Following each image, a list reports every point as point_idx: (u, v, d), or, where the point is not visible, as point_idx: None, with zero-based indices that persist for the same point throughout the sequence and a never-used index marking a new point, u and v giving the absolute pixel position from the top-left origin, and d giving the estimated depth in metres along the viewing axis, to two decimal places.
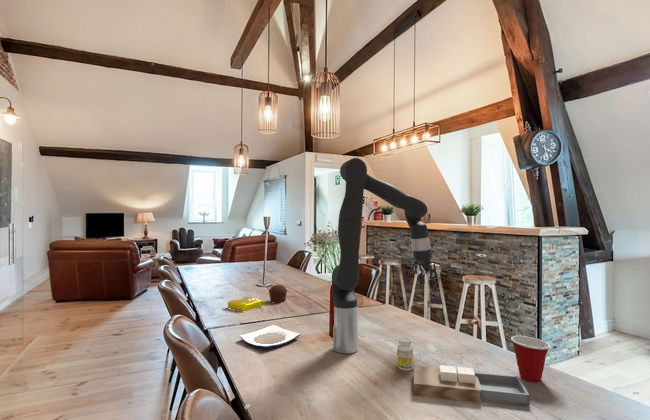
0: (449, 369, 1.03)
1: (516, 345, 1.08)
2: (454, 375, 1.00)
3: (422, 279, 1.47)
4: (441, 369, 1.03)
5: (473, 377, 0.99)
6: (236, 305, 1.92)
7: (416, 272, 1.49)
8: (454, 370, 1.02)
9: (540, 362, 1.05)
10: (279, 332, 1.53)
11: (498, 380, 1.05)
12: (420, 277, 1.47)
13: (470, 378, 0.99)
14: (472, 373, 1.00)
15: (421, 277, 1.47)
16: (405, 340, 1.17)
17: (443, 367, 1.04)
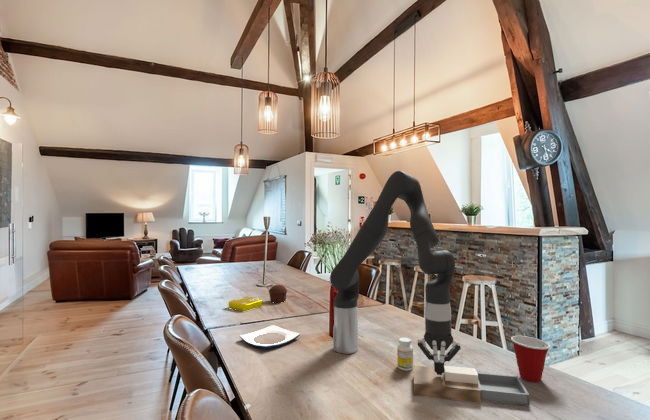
0: (454, 369, 1.02)
1: (516, 345, 1.08)
2: (459, 376, 1.00)
3: None
4: (446, 369, 1.03)
5: (476, 377, 0.99)
6: (237, 305, 1.93)
7: None
8: (459, 370, 1.02)
9: (540, 362, 1.05)
10: (279, 332, 1.53)
11: (498, 380, 1.05)
12: None
13: (473, 379, 0.99)
14: (475, 373, 1.00)
15: None
16: (405, 340, 1.17)
17: (448, 368, 1.04)
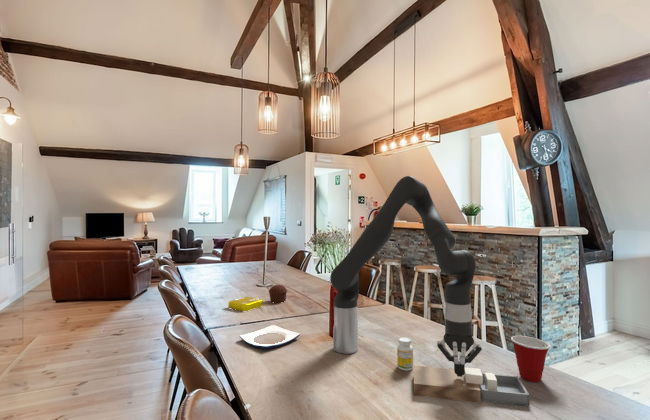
0: (474, 371, 1.01)
1: (516, 345, 1.08)
2: (480, 378, 0.99)
3: None
4: (466, 371, 1.01)
5: None
6: (237, 305, 1.93)
7: None
8: (480, 372, 1.00)
9: (540, 362, 1.05)
10: (279, 332, 1.53)
11: (498, 380, 1.05)
12: None
13: None
14: None
15: None
16: (405, 340, 1.17)
17: (468, 370, 1.02)
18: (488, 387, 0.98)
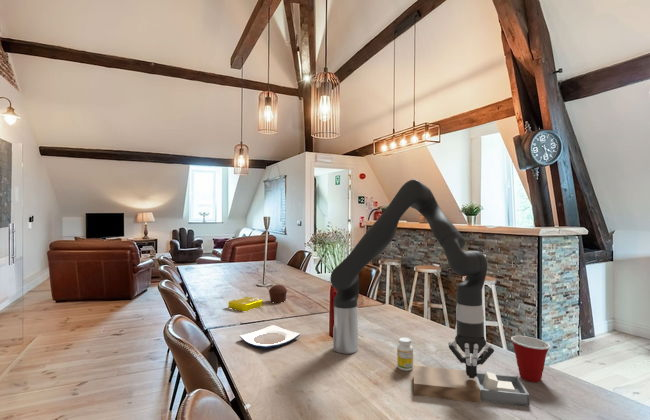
0: None
1: (516, 345, 1.08)
2: None
3: None
4: None
5: None
6: (237, 305, 1.93)
7: None
8: None
9: (540, 362, 1.05)
10: (279, 332, 1.53)
11: None
12: None
13: None
14: None
15: None
16: (405, 340, 1.17)
17: None
18: (505, 389, 0.97)
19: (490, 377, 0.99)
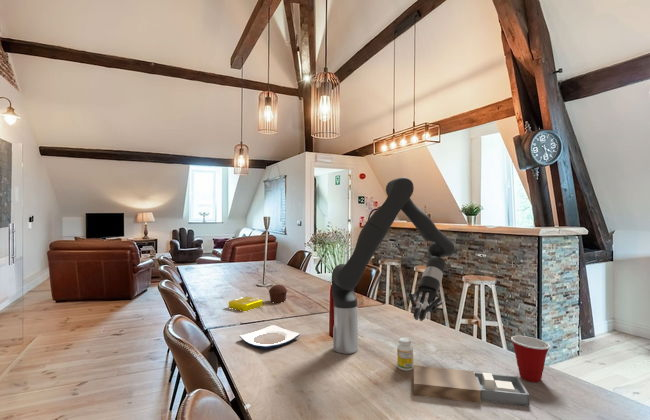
0: None
1: (516, 345, 1.08)
2: None
3: (418, 314, 1.28)
4: None
5: None
6: (237, 305, 1.93)
7: (414, 304, 1.30)
8: None
9: (540, 362, 1.05)
10: (279, 332, 1.53)
11: None
12: (418, 311, 1.28)
13: None
14: None
15: (419, 311, 1.28)
16: (405, 340, 1.17)
17: None
18: (505, 389, 0.97)
19: (486, 378, 0.99)
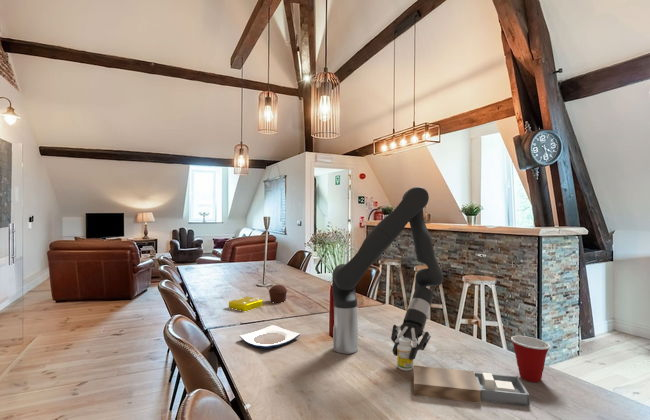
0: None
1: (516, 345, 1.08)
2: None
3: None
4: None
5: None
6: (237, 305, 1.93)
7: (394, 338, 1.22)
8: None
9: (540, 362, 1.05)
10: (279, 332, 1.53)
11: None
12: None
13: None
14: None
15: None
16: (405, 340, 1.17)
17: None
18: (505, 389, 0.97)
19: (486, 378, 0.99)
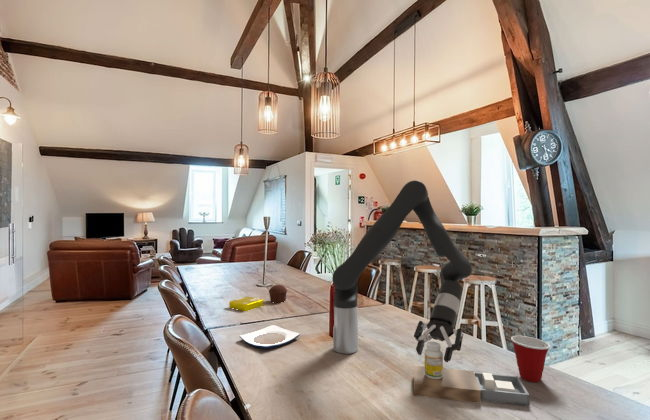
0: None
1: (516, 345, 1.08)
2: None
3: (422, 348, 1.07)
4: None
5: None
6: (238, 305, 1.93)
7: (417, 336, 1.09)
8: None
9: (540, 362, 1.05)
10: (279, 332, 1.53)
11: None
12: (422, 343, 1.07)
13: None
14: None
15: (422, 344, 1.07)
16: (434, 345, 1.04)
17: None
18: (505, 389, 0.97)
19: (486, 378, 0.99)
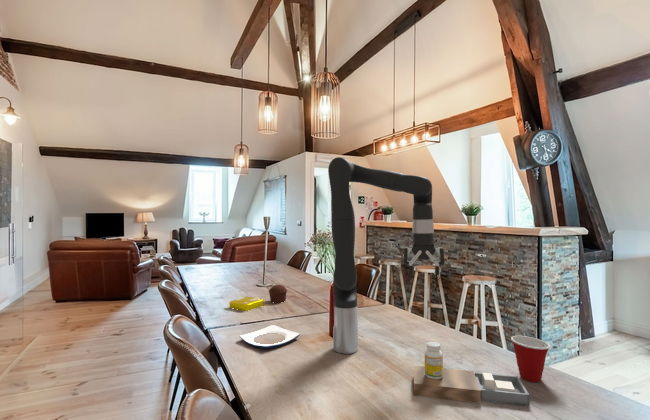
0: None
1: (516, 345, 1.08)
2: None
3: (412, 269, 1.27)
4: None
5: None
6: (238, 305, 1.93)
7: (407, 262, 1.26)
8: None
9: (540, 362, 1.05)
10: (279, 332, 1.53)
11: None
12: (412, 267, 1.26)
13: None
14: None
15: (412, 267, 1.26)
16: (434, 345, 1.04)
17: None
18: (505, 389, 0.97)
19: (486, 378, 0.99)
